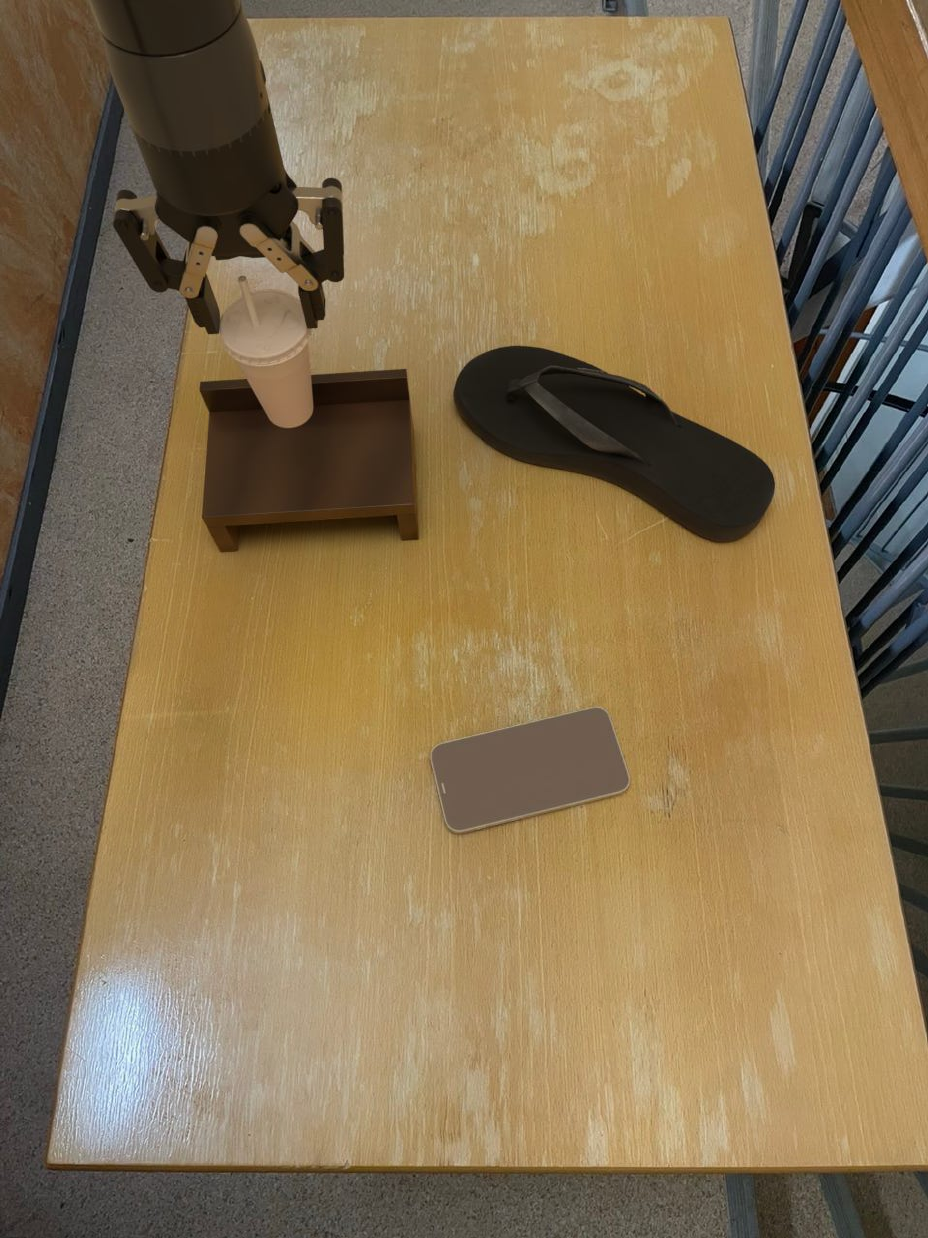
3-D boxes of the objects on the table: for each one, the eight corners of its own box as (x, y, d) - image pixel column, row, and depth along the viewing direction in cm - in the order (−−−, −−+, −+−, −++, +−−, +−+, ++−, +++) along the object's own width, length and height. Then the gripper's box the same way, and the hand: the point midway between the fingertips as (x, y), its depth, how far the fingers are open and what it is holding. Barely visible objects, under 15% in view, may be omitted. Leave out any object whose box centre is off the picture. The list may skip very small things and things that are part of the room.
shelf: (220, 552, 83) (190, 498, 75) (226, 442, 88) (199, 381, 80) (418, 539, 83) (411, 484, 75) (413, 431, 88) (406, 368, 80)
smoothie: (234, 405, 73) (181, 270, 60) (299, 363, 75) (261, 224, 62) (280, 456, 71) (236, 327, 58) (346, 412, 73) (317, 277, 60)
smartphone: (634, 789, 72) (448, 835, 71) (632, 792, 73) (448, 838, 72) (605, 703, 75) (427, 745, 74) (604, 706, 76) (427, 748, 75)
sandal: (747, 556, 82) (768, 517, 76) (432, 439, 88) (428, 394, 82) (788, 448, 86) (811, 403, 80) (487, 344, 92) (487, 295, 86)
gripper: (52, 154, 47) (157, 370, 63) (330, 137, 47) (367, 358, 63) (69, 60, 51) (165, 288, 66) (330, 44, 51) (366, 275, 66)
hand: (264, 321), depth 64 cm, fingers closed on smoothie, 6 cm apart
